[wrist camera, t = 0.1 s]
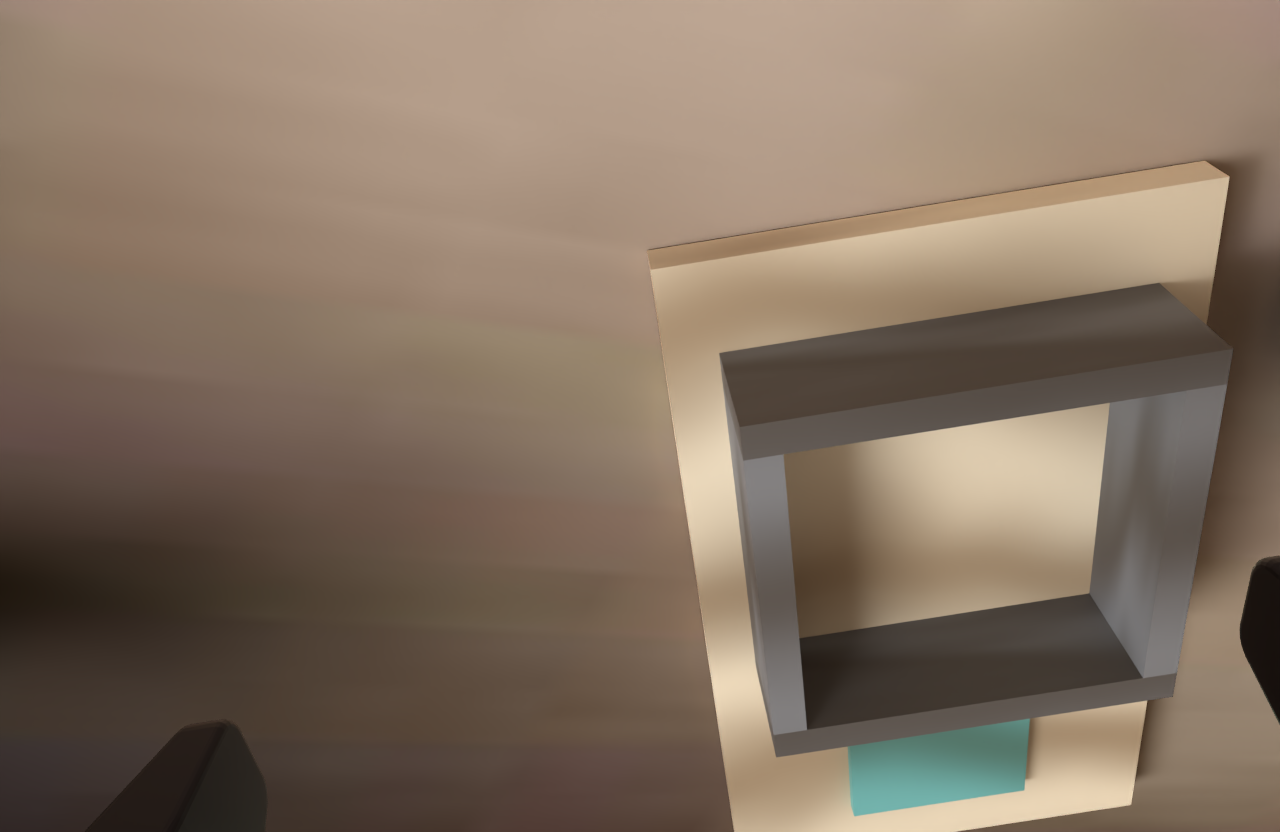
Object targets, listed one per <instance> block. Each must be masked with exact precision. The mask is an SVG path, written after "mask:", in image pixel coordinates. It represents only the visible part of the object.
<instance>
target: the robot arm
mask: <svg viewBox="0 0 1280 832" xmlns="http://www.w3.org/2000/svg"><path fill="white" fill-rule="evenodd" d="M1240 639H1241V645H1242V648H1243V651H1244V654H1245V656H1246V658H1247V660H1248V662H1249V664H1250V666H1251V668H1252V670H1253V672H1254V674H1255V676H1256V678H1257V680H1258V682H1259V684H1260V686H1261V688H1262V690H1263V692H1264V694H1265V696H1266V698H1267V700H1268V702H1269V704H1270V706H1271V708H1272V710H1273V712H1274V714H1275V716H1276V718H1277V720H1278V722H1279V724H1280V556H1274V557H1267V558H1264V559H1261V560H1259V561H1258V562H1257V563H1256V564H1255V566H1254V567H1253V569H1252V572H1251V577H1250V581H1249V586H1248V591H1247V595H1246V600H1245V605H1244V609H1243V614H1242V618H1241V623H1240ZM267 806H268V796H267V787H266V783H265V780H264V777H263V775H262V773H261V771H260V768H259V766H258V764H257V762H256V760H255V758H254V756H253V754H252V752H251V750H250V748H249V746H248V744H247V742H246V740H245V738H244V736H243V734H242V732H241V730H240V729H239V727H238V726H237V724H236V723H234V722H233V721H231V720H227V719H221V720H215V721H208V722H202V723H195V724H190V725H188V726H185V727H184V728H182V729H181V730H179V731H178V732H177V733H176V734H175V735H174V736H173V737H172V738H171V740H170V741H169V742H168V743H167V744H166V745H165V746H164V747H163V748H162V749H161V750H160V751H159V752H158V753H157V755H156V756H155V757H154V758H153V759H152V760H151V761H150V762H149V763H148V764H147V765H146V766H145V767H144V768H143V770H142V771H141V772H140V773H139V774H138V775H137V776H136V777H135V778H134V779H133V780H132V781H131V782H130V783H129V785H128V786H127V787H126V788H125V789H124V790H123V791H122V792H121V793H120V794H119V795H118V796H117V797H116V798H115V800H114V801H113V802H112V803H111V804H110V805H109V806H108V807H107V808H106V809H105V810H104V811H103V812H102V813H101V815H100V816H99V817H98V818H97V819H96V820H95V821H94V822H93V823H92V824H91V825H90V826H89V827H88V829H87V830H86V831H85V832H265V828H266V817H267Z"/></svg>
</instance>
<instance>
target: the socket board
mask: <svg viewBox="0 0 1280 832" xmlns="http://www.w3.org/2000/svg"><path fill="white" fill-rule="evenodd" d="M1229 178H1230V177H1229V176H1228V175H1226V174H1225V173H1223V172H1222V171H1220V170H1218V169H1217V168H1215V167H1214V166H1212V165H1211V164H1209V163H1208V162H1206V161H1199V162H1193V163H1187V164H1181V165H1175V166H1168V167H1162V168H1156V169H1150V170H1144V171H1137V172H1131V173H1125V174H1119V175H1112V176H1106V177H1100V178H1094V179H1088V180H1081V181H1075V182H1069V183H1063V184H1057V185H1050V186H1044V187H1038V188H1032V189H1026V190H1019V191H1013V192H1007V193H1001V194H995V195H988V196H982V197H976V198H970V199H964V200H957V201H951V202H945V203H939V204H933V205H926V206H920V207H914V208H908V209H902V210H895V211H889V212H883V213H877V214H871V215H864V216H858V217H852V218H846V219H840V220H833V221H827V222H821V223H815V224H809V225H802V226H796V227H790V228H784V229H778V230H771V231H765V232H759V233H753V234H747V235H740V236H734V237H728V238H722V239H716V240H709V241H703V242H697V243H691V244H685V245H678V246H672V247H666V248H660V249H654V250H647V254H648V261H649V267H650V274H651V281H652V287H653V294H654V301H655V307H656V314H657V321H658V327H659V334H660V341H661V347H662V354H663V361H664V367H665V374H666V381H667V387H668V394H669V401H670V407H671V414H672V421H673V427H674V434H675V441H676V447H677V454H678V461H679V467H680V474H681V481H682V487H683V494H684V501H685V507H686V514H687V521H688V527H689V534H690V541H691V547H692V554H693V561H694V567H695V574H696V581H697V587H698V594H699V601H700V607H701V614H702V621H703V627H704V634H705V641H706V647H707V654H708V661H709V667H710V674H711V681H712V687H713V694H714V701H715V707H716V714H717V721H718V727H719V734H720V741H721V747H722V754H723V761H724V767H725V774H726V781H727V787H728V794H729V801H730V807H731V814H732V821H733V827H734V832H956V831H963V830H970V829H976V828H983V827H989V826H996V825H1002V824H1009V823H1016V822H1022V821H1029V820H1035V819H1042V818H1048V817H1055V816H1061V815H1068V814H1075V813H1081V812H1088V811H1094V810H1101V809H1107V808H1114V807H1121V806H1127V805H1131V801H1132V795H1133V789H1134V782H1135V776H1136V770H1137V763H1138V757H1139V750H1140V744H1141V738H1142V731H1143V725H1144V719H1145V712H1146V706H1147V701H1148V700H1154V699H1161V698H1167V697H1173V692H1174V687H1175V681H1176V675H1177V669H1178V664H1179V658H1180V652H1181V647H1182V641H1183V635H1184V629H1185V624H1186V618H1187V612H1188V606H1189V601H1190V595H1191V589H1192V584H1193V578H1194V572H1195V566H1196V561H1197V555H1198V549H1199V543H1200V538H1201V532H1202V526H1203V521H1204V515H1205V509H1206V503H1207V498H1208V492H1209V486H1210V480H1211V475H1212V469H1213V463H1214V458H1215V452H1216V446H1217V440H1218V435H1219V429H1220V423H1221V418H1222V412H1223V406H1224V400H1225V395H1226V389H1227V383H1228V377H1229V372H1230V366H1231V360H1232V355H1233V348H1232V347H1231V346H1230V345H1229V344H1227V343H1226V342H1225V341H1224V340H1223V339H1222V338H1221V337H1220V336H1218V335H1217V334H1216V333H1215V332H1214V331H1213V330H1212V329H1211V328H1209V327H1208V326H1207V325H1206V324H1207V318H1208V311H1209V305H1210V299H1211V292H1212V286H1213V280H1214V273H1215V267H1216V261H1217V254H1218V248H1219V241H1220V235H1221V229H1222V222H1223V216H1224V210H1225V203H1226V197H1227V191H1228V184H1229Z"/></svg>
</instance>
